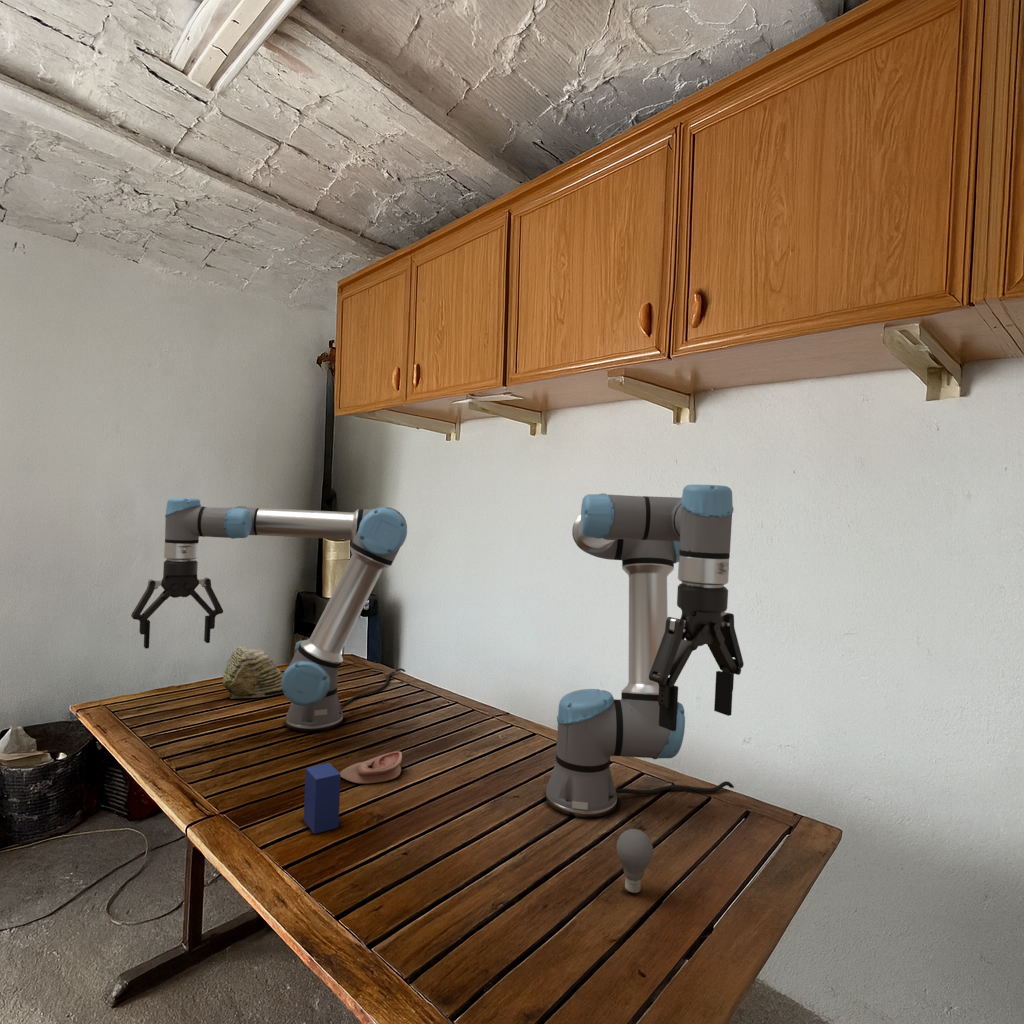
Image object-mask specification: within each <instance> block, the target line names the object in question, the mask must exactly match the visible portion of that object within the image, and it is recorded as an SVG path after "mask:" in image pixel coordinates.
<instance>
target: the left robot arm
mask: <svg viewBox="0 0 1024 1024" xmlns="http://www.w3.org/2000/svg"><path fill="white" fill-rule="evenodd" d="M164 518H165V520H164V521H165V526H164V529H165V530H164V550H163V552H164V553H163V558H164V559H165V560H164V561H163V569H162V570H163V572H162V573H163V574H162V579H161V580H154V579H152V578H151V579H148V581H147V586H146V589H145V590H144V592H143V594H142V596H141V597H140V599H139V601H138V603H137V604H136V606H135V607H134V609H133V611H132V612H131V614H130V616H131V618H132V619H133V620H136V621H139V627H138V628H139V629H138V632H139V634H140V635H141V636H142V635H143V648H144V649H146V650H147V649H150V635H151V621H150V620H149V619H150V617H151V616H152V615H153V614H154V613H155V612H156V611H157V610H158V609H159V608H160V607H161V605H162V604H163V603H164V602H165V601H167V600H168V599H169V598H170V597H171V598H174V599H176V598H177V599H178V598H188V597H190V596H191V597H192V598H193V599H194V601H195V602H196V603H198V605H199V606H200V607H201V608H202V609H203V610H204V611H205V612H206V613H207V614H208V615H204V635H203V636H204V637H203V641H204V642H205V644H210V643H211V630H214V629H215V627H216V617H217V616H218V615H222V614H223V613H224V609H223V607H222V606H221V604H220V603H221V602H220V601H219V599H218V597H217V595H216V594H215V591H214V589H213V588H212V580H211V578H208V577H204V578H200V579H199V578H198V568H199V567H198V564H199V562H198V561H197V560H196V559H198V558H199V542H200V540H199V538H200V537H202V538H205V537H207V538H223V539H224V538H225V539H232V540H234V539H246V538H248V537H249V536H264V537H265V536H267V537H284V538H285V537H289V538H305V539H307V538H308V539H309V538H310V539H326V540H327V539H331V540H348V541H349V540H352V542H351V544H350V545H349V549H350V552H351V556H350V559H349V561H348V563H347V564H346V567H345V569H344V570H343V572H342V574H341V577H340V578H339V579H338V582H337V583H336V586H335V588H334V589H333V592H332V594H331V596H330V598H329V600H328V602H327V604H326V606H325V608H324V610H323V611H322V614H321V616H320V618H319V620H318V621H317V623H316V625H315V628H314V629H313V631H312V633H311V635H310V637H309V638H308V639H303V640H299V641H297V642H296V643H295V648H294V655H293V657H292V659H291V661H290V663H289V665H288V666H287V668H286V669H285V670H284V671H283V672H282V675H283V676H282V682H281V686H282V690H283V693H282V694H283V695H284V696H285V698H286V699H287V700H288V701H290V704H289V708H288V711H287V713H286V715H285V726H286V728H287V729H289V730H291V731H294V732H295V731H296V732H301V733H316V732H325V731H329V730H332V729H335V728H337V727H339V726H340V725H342V723H343V722H344V714H343V709H342V707H344V706H346V705H348V704H349V703H350V702H352V701H353V700H355V699H358V698H361V697H363V696H369V695H372V694H374V693H377V692H379V691H381V690H382V689H384V688H386V686H387V685H388V684H389V681H390V677H391V676H392V675H394V674H395V673H397V672H400V671H402V672H403V673H406V669H404V668H402V667H401V668H397V669H395V670H393V671H392V672H390V673H388V675H387V678H386V681H385V683H384V684H383V685H382V686H380V687H378V688H376V689H374V690H371V691H368V692H364V693H359V694H357V695H354V696H353V697H350V698H349V699H348V700H347V701H345V702H343V703H341V702H340V699H339V695H338V682H339V681H338V680H339V678H338V677H339V669H340V667H341V665H342V663H343V661H344V657H343V656H342V650H343V649H344V646H345V645H346V643H347V640H348V639H349V637H350V635H351V633H352V631H353V629H354V627H355V625H356V623H357V621H358V619H359V617H360V615H361V613H362V610H364V607H365V605H366V603H367V601H368V599H369V597H370V596H371V594H372V591H373V589H374V587H375V586H376V584H377V581H378V579H379V577H380V576H381V573H382V571H383V570H385V569H388V568H390V567H392V565H393V563H394V561H395V559H396V557H397V556H398V553H399V551H400V549H401V547H402V546H403V545H404V544H405V542H406V539H407V535H408V524H407V521H406V519H405V517H404V515H403V514H402V513H401V512H400V511H399V510H397V509H395V508H393V507H388V506H386V507H385V506H383V507H381V506H380V507H376V508H369V509H367V508H366V509H365V508H362V509H361V508H357V509H356V510H355V511H354V512H353V511H352V512H350V511H332V510H331V511H329V510H309V509H293V508H292V509H290V508H289V509H288V508H268V507H248V506H242V505H241V506H240V505H239V506H235V507H234V506H233V507H216V506H215V507H213V506H212V507H211V506H210V507H209V506H203V505H202V504H201V500H200V499H199V498H194V497H193V498H192V497H170V498H169V499H168V500H167V502H166V508H165V515H164ZM199 585H200V586H201V587H203V588H204V590H205V592H206V594H207V596H208V598H209V600H210V602H211V604H212V606H213V608H214V609H213V608H211V606H210V605H209V604H208V603H207V602H206V600H204V599H203V598H202V597H201V595H199V593H198V592H197V591H196V589H197V587H198V586H199ZM159 586H160V587H161V588H162V589H163V591H162V592H161V593H160V594H159V595H158V597H156V598H155V600H154V601H153V602H152V603H151V604H150V605H149V606H148V607H147V608H146V609H145V607H146V606H147V604H148V602H149V600H150V599H151V598H152V595H153V594H154V591H155V590H157V589H158V588H159ZM144 609H145V610H144ZM143 610H144V611H143ZM394 671H396V672H394Z"/></svg>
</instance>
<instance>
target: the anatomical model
mask: <svg viewBox="0 0 1024 1024" xmlns="http://www.w3.org/2000/svg"><path fill="white" fill-rule="evenodd" d="M402 761H403V754H402V751H399V750H397V751H391V752H387V753H384V754H381V755H377V756H375V757H373V758H370V759H367V760H365V761H361V762H355V763H353V764H351V765H349V766H347V767H345V768H343V769H342V770H341V771H339V773H340V778H341V779H344V780H346V781H347V782H350V783H352V784H353V783H354V784H375V783H383V782H387V781H391V780H393V779H396V778H398V777H399V776H400V774H401V772H402V767H401V763H402Z"/></svg>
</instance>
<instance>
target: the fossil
mask: <svg viewBox="0 0 1024 1024" xmlns="http://www.w3.org/2000/svg"><path fill="white" fill-rule="evenodd" d="M222 676H223V677H222V685H223V687H224V688H225V690H226V691H228V693H229V698H230V699H250V698H264V697H271V696H275V695H281V694H284V693H283V690H282V686H281V682H282V676H283V672H281V669H279V668H278V667H277V665H276V663H275V662H274V660H273V659H272V658H271V657H270V656H269V655H268V654H267V653H266V652H265V650H264V649H263V648H260V647H258V648H251V647H247V646H246V647H245V646H238V647H237V648H236V649H235V650H233V651H232V653H231V656H230V657H229V659H228V660H227V663H226V666H225V668H224V671H223V675H222Z"/></svg>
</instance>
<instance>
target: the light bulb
mask: <svg viewBox="0 0 1024 1024" xmlns="http://www.w3.org/2000/svg"><path fill="white" fill-rule="evenodd" d="M615 849H616V854H617V857H618V859H619V861H620V863H621V865H622V867H623V873H624V874H623V875H624V876H625V878H624V888H625V890H627V891H628V892H630V893H634V894H635V893H639V892H640V891H641V889H642V887H641V886H642V879H643V877H644V875H645V871H646V868H647V867H648V866H649V864H650V863H651V861H652V859H653V855H654V847H653V843H652V841H651V838H649V836H648V835H647V834H646V833H645V832H643V831H642V830H641V829H636V828H629V829H627V830H625V831H623V832H622V833H621V834H620V835H619V837H618V839H617V841H616V847H615Z"/></svg>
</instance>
